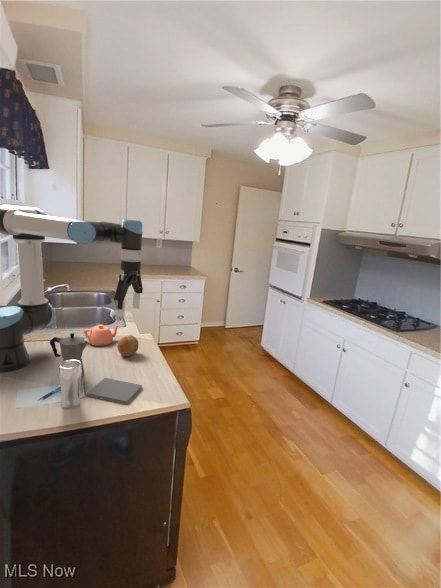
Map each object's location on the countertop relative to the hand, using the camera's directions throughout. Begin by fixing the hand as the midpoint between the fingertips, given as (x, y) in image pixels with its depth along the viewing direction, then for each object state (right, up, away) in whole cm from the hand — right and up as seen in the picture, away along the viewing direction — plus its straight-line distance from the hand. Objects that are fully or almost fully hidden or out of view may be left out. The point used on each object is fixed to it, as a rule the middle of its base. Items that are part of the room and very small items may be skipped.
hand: (128, 312), depth 124 cm
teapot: (-24, -18, +35) cm, 47 cm away
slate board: (-3, -30, -8) cm, 31 cm away
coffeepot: (-24, -26, 0) cm, 35 cm away
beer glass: (-15, -31, -18) cm, 39 cm away
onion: (-8, -22, +23) cm, 33 cm away
